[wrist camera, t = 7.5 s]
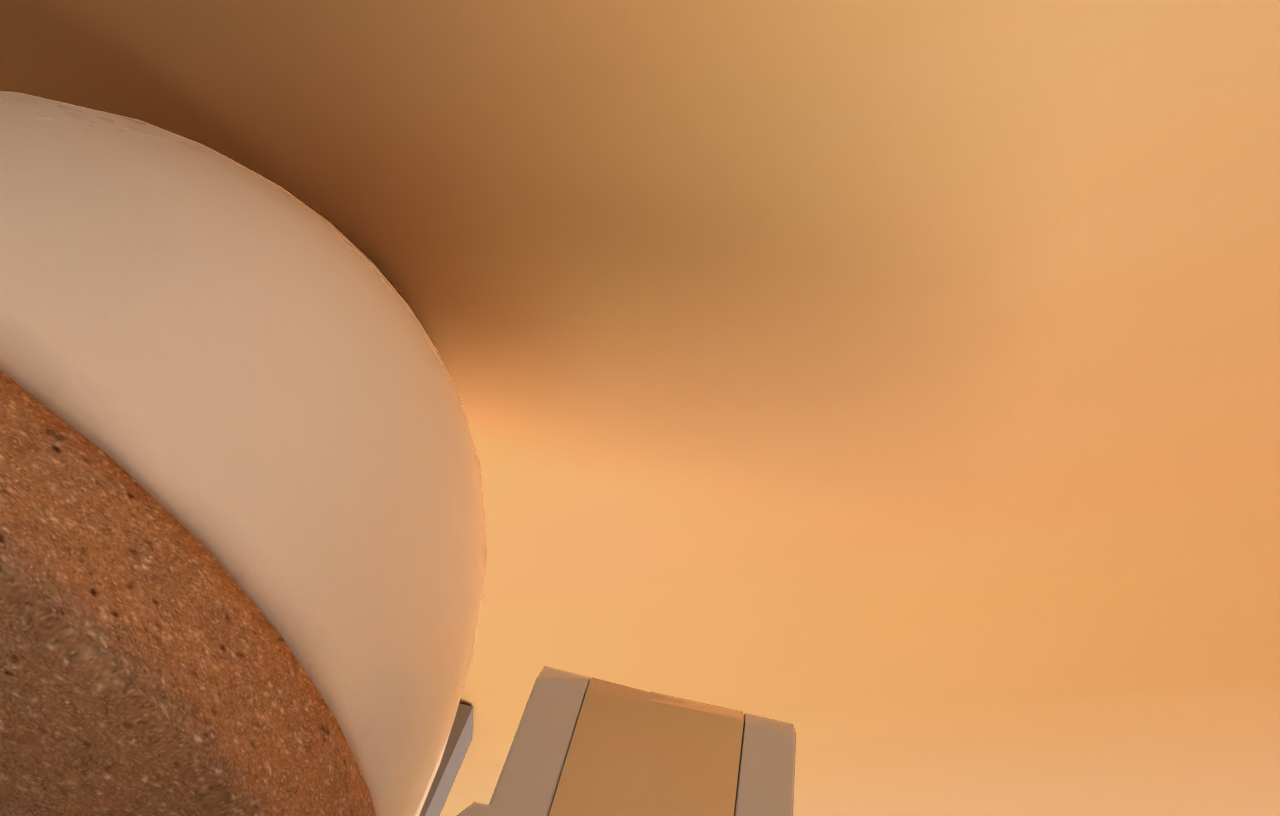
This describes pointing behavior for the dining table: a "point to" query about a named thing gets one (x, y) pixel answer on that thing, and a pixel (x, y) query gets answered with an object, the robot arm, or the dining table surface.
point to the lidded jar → (216, 493)
